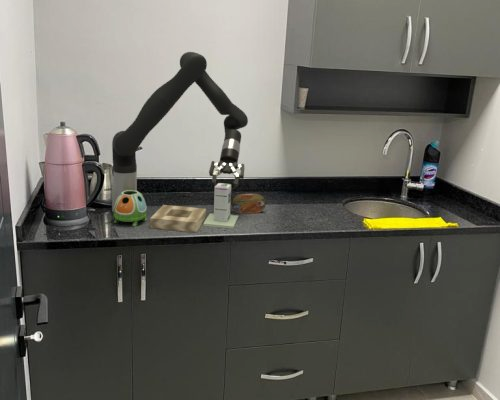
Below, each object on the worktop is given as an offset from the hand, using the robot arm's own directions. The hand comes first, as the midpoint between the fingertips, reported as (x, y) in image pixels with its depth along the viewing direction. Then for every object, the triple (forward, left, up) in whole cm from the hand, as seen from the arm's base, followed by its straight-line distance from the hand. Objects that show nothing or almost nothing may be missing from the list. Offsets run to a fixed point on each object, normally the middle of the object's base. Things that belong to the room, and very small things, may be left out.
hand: (224, 185), depth 203 cm
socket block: (-16, -10, -15) cm, 24 cm away
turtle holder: (-35, -12, -15) cm, 40 cm away
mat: (0, -4, -15) cm, 15 cm away
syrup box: (0, -3, -14) cm, 14 cm away
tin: (+9, +12, -15) cm, 21 cm away
